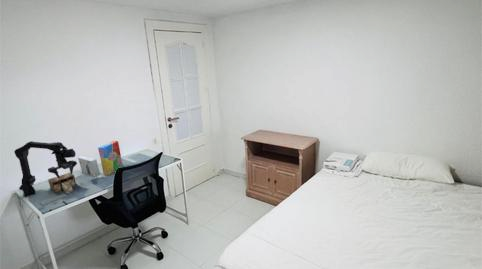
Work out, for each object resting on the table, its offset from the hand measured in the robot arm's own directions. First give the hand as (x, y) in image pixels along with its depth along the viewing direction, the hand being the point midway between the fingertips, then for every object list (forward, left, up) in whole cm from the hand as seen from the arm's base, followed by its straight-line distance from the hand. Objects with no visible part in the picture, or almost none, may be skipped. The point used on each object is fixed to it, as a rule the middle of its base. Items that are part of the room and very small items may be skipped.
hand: (65, 176), depth 199 cm
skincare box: (+24, +19, -13) cm, 33 cm away
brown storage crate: (-1, +9, -13) cm, 15 cm away
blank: (-1, +1, -13) cm, 13 cm away
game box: (+40, +7, -13) cm, 42 cm away
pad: (-13, -8, -13) cm, 19 cm away
